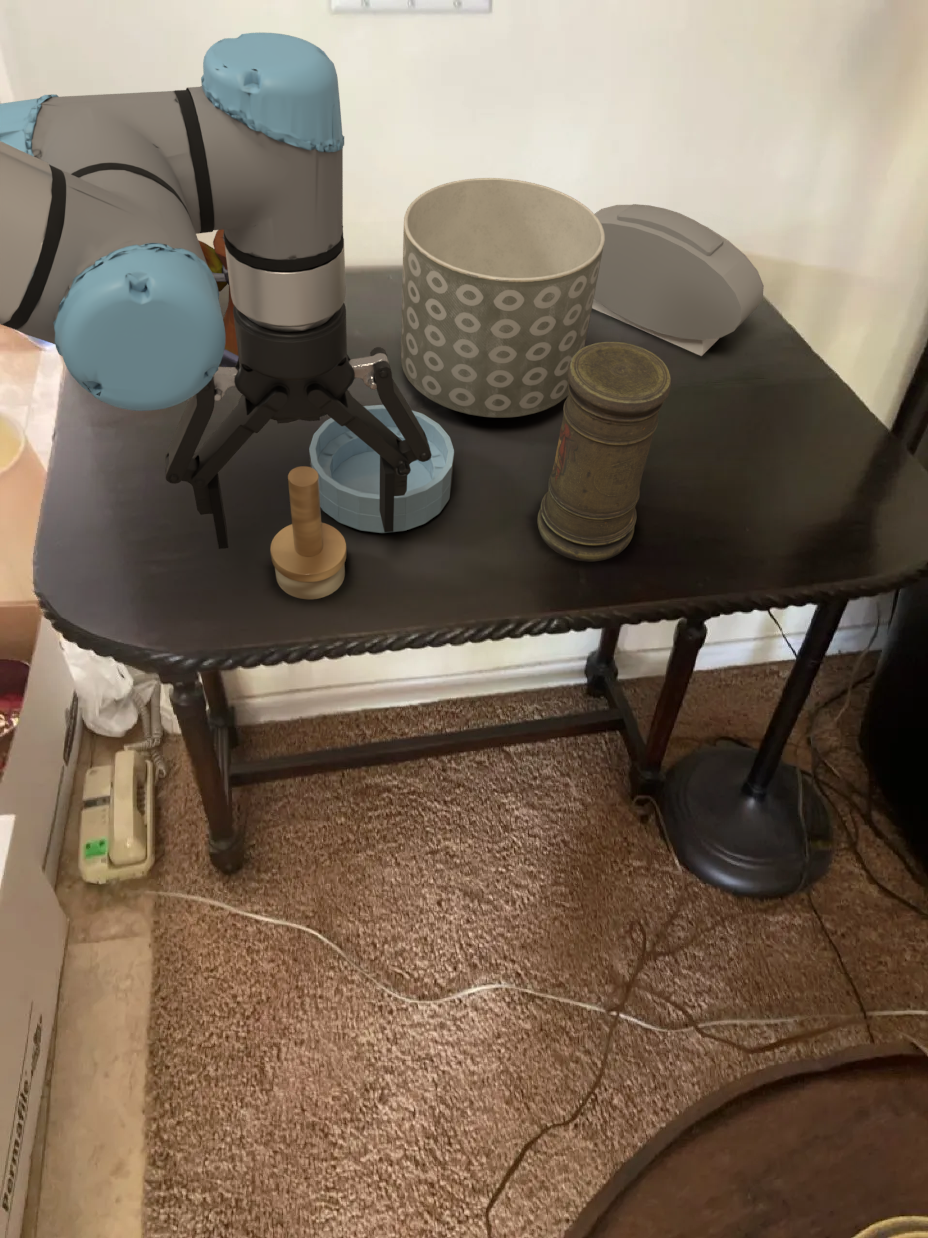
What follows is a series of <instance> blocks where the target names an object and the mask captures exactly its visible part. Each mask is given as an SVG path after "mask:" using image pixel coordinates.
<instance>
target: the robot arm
mask: <svg viewBox="0 0 928 1238" xmlns="http://www.w3.org/2000/svg"><path fill="white" fill-rule="evenodd" d="M202 62H203V63H202V69H203V70H202V71H203V74H202V76H201V78H200V83H201V86H190V87H189V86H188V87H185V89H177V90H176V89H175V90H167V91H166V90H163V91H143V92H126V93H125V92H124V93H103V94H87V95H86V94H85V95H67V96H65V95H64V96H59V95H57V94H44V95H42V96H40V97H38V98H30V99H24V100H16V101H9V102H2V103H0V326H4V327H7V328H9V329H12V330H15V331H17V332H19V333H22V334H23V335H27V336H29V337H32V338H35V339H38V340H41V341H44V342H48V343H51V344H52V345H55V349H56V351H57V354H58V355H60V356H61V357H62V360H63V362H64V365H65V367H66V369H67V371H68V372H69V374H70V375H71V376H72V378H73V379H74V380H75V381H76V382H77V383H78V385H80V386H81V388H83V389H84V390H85V391H87V392H88V393H89V394H90V395H92V396H93V397H94V398H95V399H96V400H98V401H100V402H101V403H104V404H106V405H109V406H112V407H115V408H118V409H121V410H127V411H132V412H133V411H136V412H148V411H158V410H164V409H169V408H172V407H174V406H177V405H179V404H182V403H184V402H185V401H187V403H186V406H185V407H184V408H185V409H184V411H183V413H182V415H181V418H180V420H179V422H178V425H177V427H176V430H175V431H174V434H173V436H172V439H171V440H170V442H169V445H168V448H167V450H166V452H165V455H164V466H165V467H164V468H165V471H164V472H165V480H166V482H168V483H170V484H173V485H174V484H175V485H176V484H179V483H181V482H186V483H188V484H189V485H191V486H192V489H193V494H194V495H193V496H194V499H195V504H196V510H197V512H198V513H199V514H200V515H210V514H212V517H213V522H214V523H213V524H214V528H215V535H216V540H217V541H216V542H217V547H218V550H221V549H229V543H228V540H229V539H228V527H227V521H226V520H227V519H226V513H225V508H224V501H223V496H222V489H221V482H220V476H219V472H220V471H221V470H222V469H223V468H224V467H225V466H226V464H227V463H228V462H229V461H230V460H231V459H232V458H233V457H234V456H235V455H236V454H237V452H238V451H239V450H240V449H241V448H242V447H243V445H245V443H246V442H247V441H248V440H249V439H250V438H251V437H252V436H253V435H254V434H258V433H260V431H262V429H263V428H264V427H265V426H266V425H267V424H268V423H269V422H270V420H273V421H276V423H277V425H278V424H289V423H292V422H296V421H305V422H306V421H307V422H316V421H317V422H319V421H321V418H322V417H324V416H326V415H327V416H328V417H329V418H332V419H333V420H334V421H336V422H337V423H338V424H339V425H340V426H346V427H347V428H348V429H349V430H350V431H352V432H353V433H354V434H355V435H356V436H358V437H359V438H360V439H361V440H362V441H363V442H365V443H366V444H367V445H368V446H369V447H371V448H372V449H373V450H374V451H375V452H377V453H378V454H379V455H380V505H379V511H380V515H381V519H382V524H383V528H384V532H388V533H394V532H393V525H394V496H402V495H405V493H406V491H407V475H408V474H409V473H410V471H411V469H410V463H412V462H414V461H416V460H419V461H421V462H425V461H428V460H429V459H430V458H431V456H432V454H431V451H430V447H429V444H428V440H427V437H426V434H425V432H424V430H423V429H422V427H421V425H420V423H419V422H418V420H417V418H416V417H415V415H414V413H413V412H412V410H413V409H412V408H411V406H410V405H409V404H408V402H407V400H406V399H405V397H404V395H403V393H402V391H401V390H400V388H399V386H398V385H397V383H396V382H395V380H394V378H393V372H392V369H391V365H390V361H389V357H388V354H387V351H386V349H384V347H381V346H377V347H373V348H372V349H371V351H370V352H369V353H370V354H369V356H364V357H363V356H362V357H357V358H352V359H351V358H350V356H349V355H348V341H347V340H348V339H347V338H348V336H347V335H348V334H347V307H346V303H345V301H346V295H347V290H346V288H347V287H346V259H345V258H346V257H345V256H346V255H345V238H344V223H343V222H344V211H343V209H344V206H343V205H344V204H343V203H344V196H343V195H344V192H343V191H344V189H343V188H344V183H343V181H344V179H343V177H344V168H343V167H344V146H345V136H344V135H343V125H342V113H341V101H340V89H339V79H338V73H337V69H336V66H335V63H334V62H333V61H332V60H331V59H330V57H329V56H328V55H327V53H326V52H325V51H324V50H322V48H320V47H319V46H317V45H316V44H314V43H312V42H311V41H308V40H305V39H303V38H300V37H297V36H293V35H289V34H283V33H277V32H248V33H247V32H246V33H241V34H240V35H239V36H237V37H228V38H227V37H226V38H225V37H224V38H222V39H220V40H218V41H216V42H215V43H213V44H212V45H211V46H210V47H209V48H208V49H207V50H206V52H205V54H204V56H203V61H202ZM222 229H224V240H225V251H226V259H227V267H228V276H229V284H230V292H231V298H232V301H233V304H234V307H233V315H234V324H235V332H236V340H237V348H238V356H239V358H238V361H237V363H236V365H235V367H222V366H220V365H221V360H222V357H223V353H224V348H225V326H224V321H223V319H224V316H223V312H222V308H221V304H220V292H219V291H218V287H217V283H216V281H215V279H214V276H213V274H212V272H211V270H210V269H209V267H208V265H207V262H206V260H205V257H204V254H203V252H202V249H201V246H200V243H199V241H200V240H199V238H198V236H197V235H199V234H207V233H213V232H214V231H218V230H222ZM198 240H199V241H198ZM355 379H360V380H362V381H363V384H364V385H365V386H366V387H368V388H370V390H371V391H375V390H376V391H377V395H378V397H379V400H380V401H381V403H382V405H384V407H385V408H386V410H387V411H388V413H389V415H390V416H391V418H392V419H393V421H394V423H395V424H396V426H397V427H398V429H399V431H400V432H401V434H402V435H403V437H404V439H405V440H403V441H402V440H401V439H400V438H399V437H398V436H396V435H395V434H394V433H393V432H392V431H391V430H390V429H389V428H387V427H386V426H385V425H384V424H383V423H382V422H381V421H379V420H378V419H377V418H376V417H375V416H374V415H373V414H372V413H370V412H369V411H368V410H367V409H366V408H365V407H364V406H365V405H362V403H360V401H358V400H357V399H356V398H355V397H354V396H353V395H352V393H351V392H350V390H349V388H350V387H351V386H352V384H353V383H354V381H355ZM234 387H235V388H236V390H237V391H238V392H239V393H240V394H241V395H240V398H239V400H238V403H237V404H236V406H235V407H234V409H232V411H231V412H230V413H229V414H228V415H227V417H226V418H225V419H224V420H223V421H222V422H221V423H220V424H219V425H218V426H217V428H216V429H215V430H214V431H213V433H211V435H210V436H209V437H208V438H207V440H206V441H205V442H204V443H203V444H202V445H201V446H200V448H199V449H198V450H197V448H198V446H199V443H200V441H201V440H202V437H203V435H204V433H205V431H206V429H207V426H208V424H209V421H210V419H211V418H212V415H213V412H214V409H215V402H220V401H222V398H224V397H225V395H226V393H227V391H228V390H229V389H231V388H234Z"/></svg>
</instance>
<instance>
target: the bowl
mask: <svg viewBox="0 0 928 1238" xmlns="http://www.w3.org/2000/svg"><path fill="white" fill-rule="evenodd" d="M363 406H364V407H365V408H366V409H367V410H368V411H369V412H370V413H372V414H373V415H374V416H375V417H376V418H377V419H378V420H379V421H381V422H382V423H383V424H384V425H385V426H386V427H387V428H389V429H390V430H391V431H392V432H393V433H394V434H395V435H396V436H398V437H399V438H400V439H401V440H402V441H403V440H405V439H404V437H403V435H402V434H401V432H400V431H399V429H398V427H397V426H396V424H395V423H394V421H393V419H392V418H391V416H390V415H389V413H388V411H387V410H386V408H385V407H384V405H383V404H374V405H373V404H372V405H363ZM411 410H412V412H413V413H414V415H415V417H416V418H417V420H418V422H419V423H420V425H421V427H422V429H423V430H424V432H425V434H426V437H427V440H428V444H429V447H430V451H431V454H432V456H431V458H430V459H429V460H428V461H425V462H421V461H419V460H416V461H414V462H412V463H410V469H411V471H410V473H409V474H408V475H407V491H406V493H405V495H402V496H394V525H393V532H392V533H396V532H405V531H407V530H411V529H414V528H417V527H419V526H422V525H425V524H427V523H428V522H430V521H431V520H432V519H433V518H435V517H436V516H438V515H440V513H441V512H442V510H443V509H444V508H445V506H446V505H447V503H448V502H449V500H450V498H451V492H452V486H453V485H452V484H453V474H454V463H455V462H454V461H455V449H454V446H453V443H452V439H451V437H450V435H449V434H448V433H447V432H446V430H444V428H443V427H442V426H441V425H440V423H438V422H436V421H435V420H434V419H432V418H430V417H429V416H427V415H425V414H424V413H422V412H418V411H416V410H413V409H411ZM308 453H309V455H308V456H309V467H311V468H313V469H315V470H316V471H317V473H318V475H319V492H320V509H321V511H323V512H324V513H325V514H326V515H328V516H329V517H330V518H332V519H333V520H335V521H336V522H338V523H339V524H341V525H344V526H347V527H350V528H353V529H355V530H358V531H362V532H370V533H379V534H387V533H389V532H384V528H383V524H382V519H381V515H380V511H379V505H380V455H379V454H378V453H377V452H375V451H374V450H373V449H372V448H371V447H369V446H368V445H367V444H366V443H365V442H363V441H362V440H361V439H360V438H359V437H358V436H356V435H355V434H354V433H353V432H352V431H350V430H349V429H348V428H347V427H346V426H340V425H339V424H338V423H337V422H336V421H334V420H333V419H332V418H331V417H329V418H328V419H326V420H325V421H324V422H323V423H322V424H321V425H320V426H319V427H318V429H317V430H316V431H315V432H314V433H313V435H312V438H311V442H310V444H309V448H308Z"/></svg>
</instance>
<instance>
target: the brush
mask: <svg viewBox="0 0 928 1238" xmlns="http://www.w3.org/2000/svg"><path fill="white" fill-rule="evenodd" d="M287 479H288V480H287V482H288V492H289V502H290V503H289V504H290V516H291V524H289V525H286V526H285V527H284V528H282V529H280V530H279V531H278V532H277V533H276V534H275V535H274V537H273V538H272V541H271V543H270V557H271V562H272V565H273V567H274V571H275V579H276V582H277V584H278V586H279V587H280V589H281V590H282V591H283V592H284V593H286V594H288V595H289V596H291V597H294V598H297V599H302V600H317V599H321V598H325V597H328V596H329V595H332V594H333V593H334V592H336V591H337V590H338V589H339V588H341V586H342V584H343V582H344V580H345V576H346V567H345V566H346V565H345V564H346V563H345V562H346V559H347V542H346V539H345V537H344V535H343V534H342V533H341V532H340V530H338V529H337V528H336V527H334V526H332V525H330V524H329V523H325V522H322V513H321V511H322V508H321V507H320V492H319V475H318V473H317V471H316V470H315V469H313V468H311V467H310V466H307V465H303V466H302V465H301V466H296V467H294V468H292V469H291V470H290V471H289V473H288V475H287Z"/></svg>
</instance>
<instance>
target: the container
mask: <svg viewBox="0 0 928 1238" xmlns="http://www.w3.org/2000/svg"><path fill="white" fill-rule="evenodd" d="M567 375H568V380H569V382H568V389H569V394H568V396H567V397H566V398H565V399H566V400H565V401H564V403H563V415H562V416H563V417H562V419H561V420H562V421H561V425H560V429H559V435H558V442H557V447H556V452H555V455H554V459H553V460H554V462H553V467H552V471H551V473H550V475H549V478H548V490H547V491H546V493H544V496H543V497H542V499H541V503H540V508H539V511H538V513H537V520H536V521H537V523H536V524H537V529H538V533H539V535H540V537H541V539H542V540H543V542H544V543H545V545H546V546H548V547H549V548H550V549H551V550H553V552H556V554H559V555H561V556H563V557H565V558H568V559H571V560H574V561H580V562H589V563H590V562H601V561H606V560H609V559H612V558H614V557H616V556H618V555H620V554H621V553H622V552H624V550H625V549H626V548H627V547H628V546H629V544H630V543H631V541H632V539H633V537H634V533H635V525H636V522H637V509H636V506H637V503H638V501H639V499H640V495H641V494H640V493H641V483H642V479H643V474H644V470H645V466H646V464H647V460H648V455H649V452H650V449H651V445H652V442H653V437H654V434H655V431H656V429H657V428H658V424H659V412H660V410H661V408H662V407H663V406H664V402H665V401H666V399H667V398H668V397H669V395H670V393H671V388H672V377H671V373H670V371H669V369H668V366H667V365H666V363H665V362H664V361H663V360H662V359H661V358H660V357H659V356H657V354H656V353H653V352H652V351H650V350H648V349H646V348H644V347H642V346H638V345H635V344H632V343H628V342H621V341H620V342H619V341H602V342H601V341H600V342H595V343H593V344H589V345H585V347H584V348H582V349H581V350H579V351H578V352H577V353H576V354H575V355H574V356H573V357H572V359H571V361H570V363H569V365H568V370H567Z"/></svg>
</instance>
